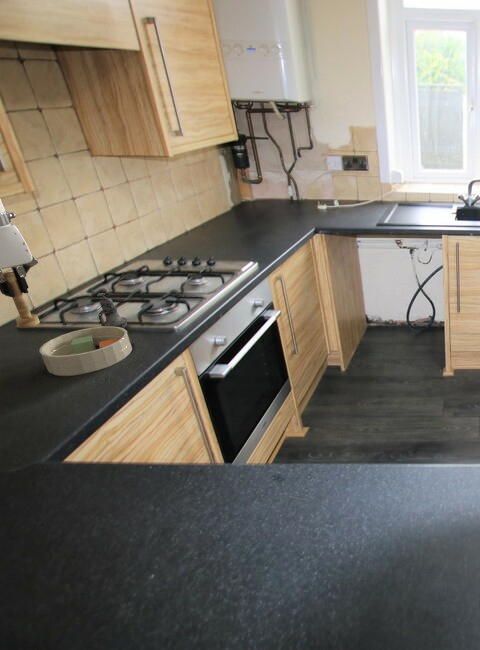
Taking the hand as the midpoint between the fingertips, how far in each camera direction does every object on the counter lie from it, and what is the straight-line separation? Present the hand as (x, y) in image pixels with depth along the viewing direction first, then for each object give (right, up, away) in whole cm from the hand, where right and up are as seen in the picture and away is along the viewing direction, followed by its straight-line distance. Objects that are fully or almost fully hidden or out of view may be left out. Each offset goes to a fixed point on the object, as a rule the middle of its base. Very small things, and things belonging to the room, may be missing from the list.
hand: (16, 293), depth 118 cm
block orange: (+18, -16, +7) cm, 26 cm away
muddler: (0, -8, +3) cm, 9 cm away
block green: (+10, -16, +8) cm, 20 cm away
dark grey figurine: (+8, -11, +21) cm, 25 cm away
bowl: (+14, -17, +6) cm, 23 cm away
